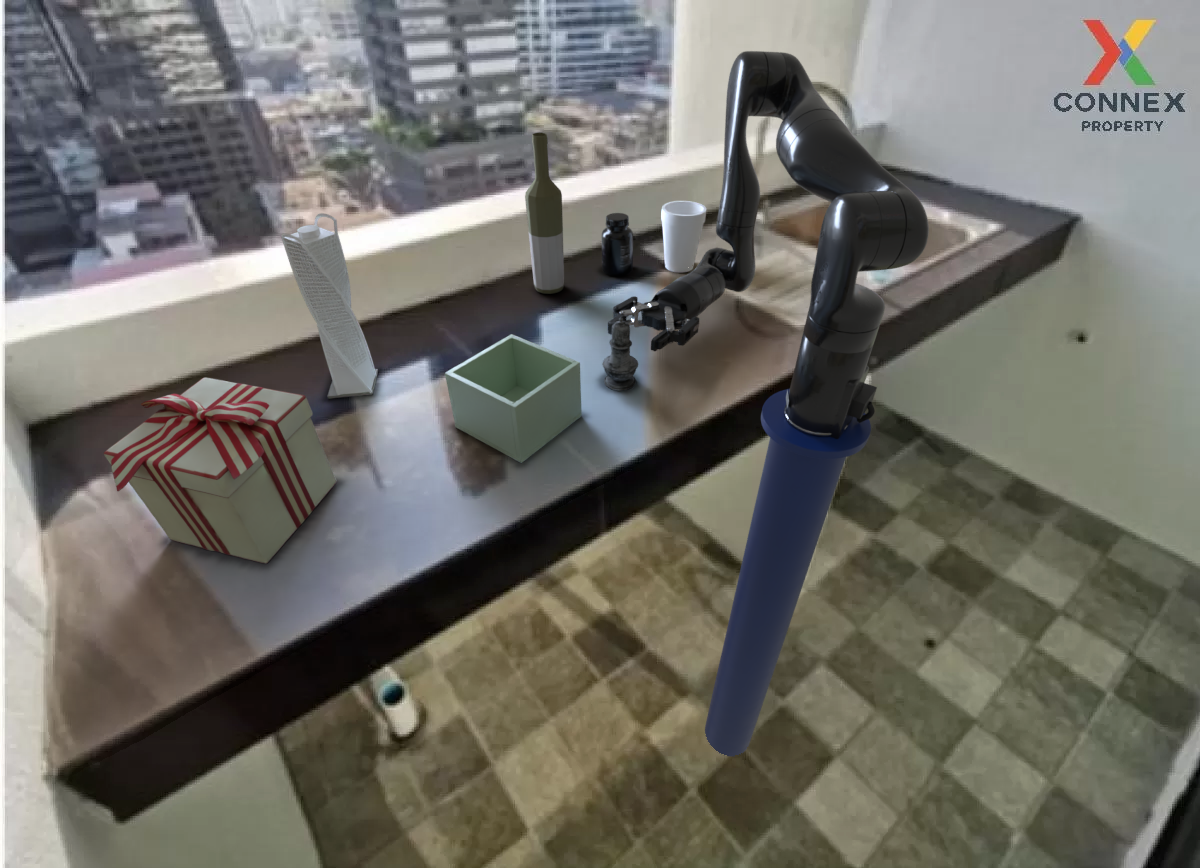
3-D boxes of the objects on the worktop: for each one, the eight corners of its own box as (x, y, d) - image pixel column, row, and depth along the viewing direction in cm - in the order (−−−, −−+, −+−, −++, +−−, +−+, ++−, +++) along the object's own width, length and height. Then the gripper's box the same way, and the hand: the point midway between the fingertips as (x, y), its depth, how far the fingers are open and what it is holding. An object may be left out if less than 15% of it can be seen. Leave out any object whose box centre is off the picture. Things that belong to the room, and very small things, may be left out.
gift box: (142, 567, 71) (57, 458, 60) (241, 463, 85) (187, 359, 74) (273, 588, 69) (209, 478, 58) (352, 478, 83) (314, 373, 72)
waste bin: (581, 416, 93) (580, 362, 87) (521, 463, 85) (514, 407, 79) (517, 386, 99) (511, 333, 93) (455, 427, 91) (444, 372, 85)
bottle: (572, 290, 127) (566, 134, 108) (545, 300, 123) (534, 141, 104) (553, 278, 131) (544, 127, 112) (526, 288, 128) (512, 133, 108)
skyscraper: (386, 370, 103) (341, 204, 86) (381, 397, 97) (330, 225, 79) (335, 374, 102) (279, 208, 85) (326, 402, 96) (263, 229, 78)
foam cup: (686, 279, 130) (691, 219, 122) (650, 268, 135) (653, 209, 127) (707, 264, 136) (714, 206, 128) (672, 254, 141) (677, 197, 132)
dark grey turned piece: (627, 395, 97) (629, 329, 90) (595, 385, 99) (595, 320, 92) (643, 377, 101) (646, 313, 94) (612, 368, 103) (613, 304, 96)
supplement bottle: (630, 263, 137) (632, 210, 129) (634, 276, 132) (635, 221, 124) (600, 264, 137) (600, 211, 129) (602, 277, 131) (602, 222, 124)
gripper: (650, 270, 109) (595, 304, 99) (721, 291, 102) (669, 330, 92) (648, 308, 113) (596, 344, 103) (716, 331, 107) (666, 371, 97)
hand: (630, 337), depth 98 cm, fingers open, 8 cm apart
